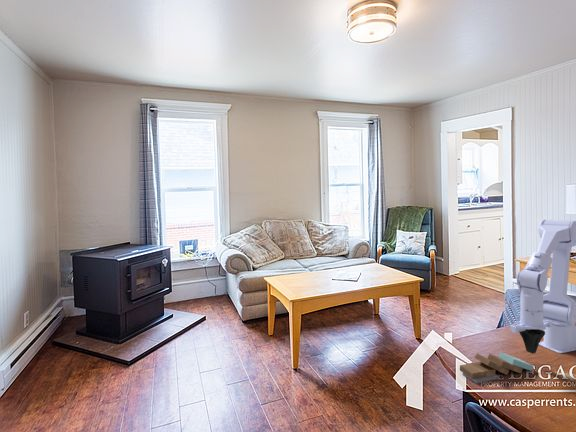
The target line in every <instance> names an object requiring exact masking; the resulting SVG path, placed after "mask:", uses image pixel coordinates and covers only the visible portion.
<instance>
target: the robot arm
mask: <svg viewBox="0 0 576 432" xmlns="http://www.w3.org/2000/svg"><path fill="white" fill-rule="evenodd" d="M537 231H538V234H539V238H540V241H539V245H538V248H537V250H536V251H534V252H532V253H531V254H530V257H529V258H528V261H527V263H526V264H525V266H524V268H523V269H522V270H519V271H518V273H517V275H516V276H517V277H516V285H517V286H518V293H519V294H520V297H519V298H520V305H519V307H520V308H519V309H520V310H519V317H520V318H519V321H516V322H515V323H512V324H509V331H510V332H512V333H513V334H520V337H521V338H522V341H523V343H524V347H525V351H526V352H528V353H530V354H536V353H537V350H538V347H539V346H541V347H543V348H545V349H548V350H551V351H553V352H555V353H557V354H563V353H569V352H573V351H574V352H575V351H576V325H575V324H576V301H575V300H574V299H573V298H572V297H570V295H568V285H569V271H570V262H571V261H570V260H571V251H572V249H573V248H572V247H576V220H554V219H553V220H552V219H551V220H548V219H542V220H541V221H540V222H539V223H538V230H537ZM550 268H551V269H550ZM549 271H550V279H549V275H548V273H549ZM548 279H549V290H548V291H549V292H548V293H545V294H544V291H545V290H546V288H547V285H548ZM542 339H543V341H542Z"/></svg>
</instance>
